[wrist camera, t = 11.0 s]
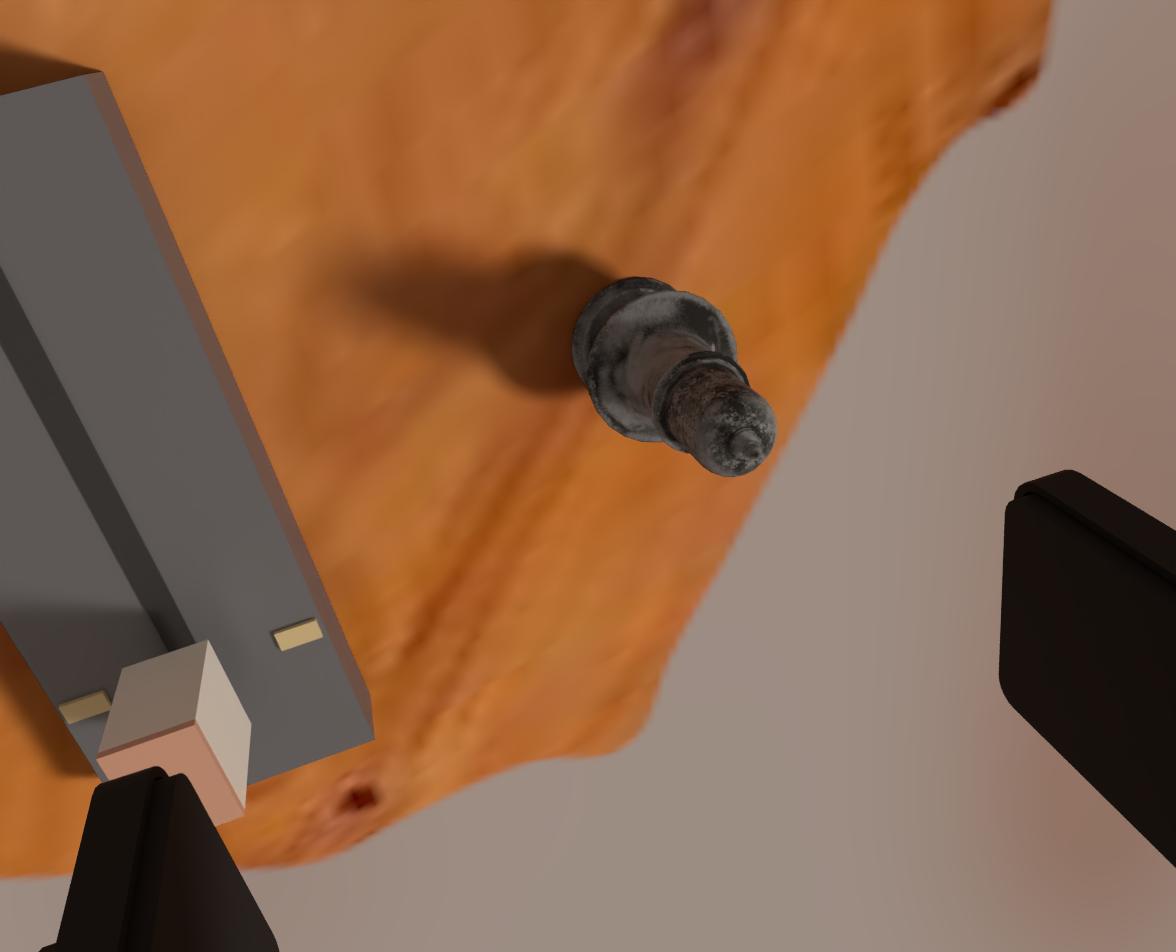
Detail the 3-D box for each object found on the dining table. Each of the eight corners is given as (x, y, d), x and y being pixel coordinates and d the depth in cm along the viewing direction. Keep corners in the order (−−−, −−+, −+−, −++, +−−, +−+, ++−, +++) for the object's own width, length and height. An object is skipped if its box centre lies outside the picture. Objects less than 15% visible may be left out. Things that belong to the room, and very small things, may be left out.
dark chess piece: (564, 417, 39) (660, 555, 29) (564, 273, 37) (668, 367, 26) (699, 405, 41) (838, 533, 30) (707, 265, 38) (861, 352, 28)
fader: (129, 644, 35) (96, 759, 29) (211, 616, 35) (194, 724, 30) (175, 726, 37) (152, 849, 31) (253, 699, 37) (244, 816, 31)
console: (-233, 156, 29) (-291, 169, 26) (102, 71, 30) (82, 74, 27) (141, 776, 41) (129, 831, 38) (370, 695, 42) (374, 742, 39)
